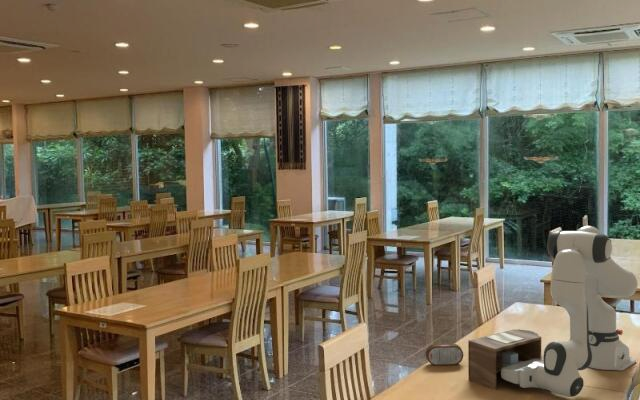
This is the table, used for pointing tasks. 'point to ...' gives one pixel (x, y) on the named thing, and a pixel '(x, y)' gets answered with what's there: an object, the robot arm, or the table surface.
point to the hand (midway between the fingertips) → (508, 364)
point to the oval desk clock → (444, 354)
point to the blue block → (509, 358)
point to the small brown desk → (499, 354)
